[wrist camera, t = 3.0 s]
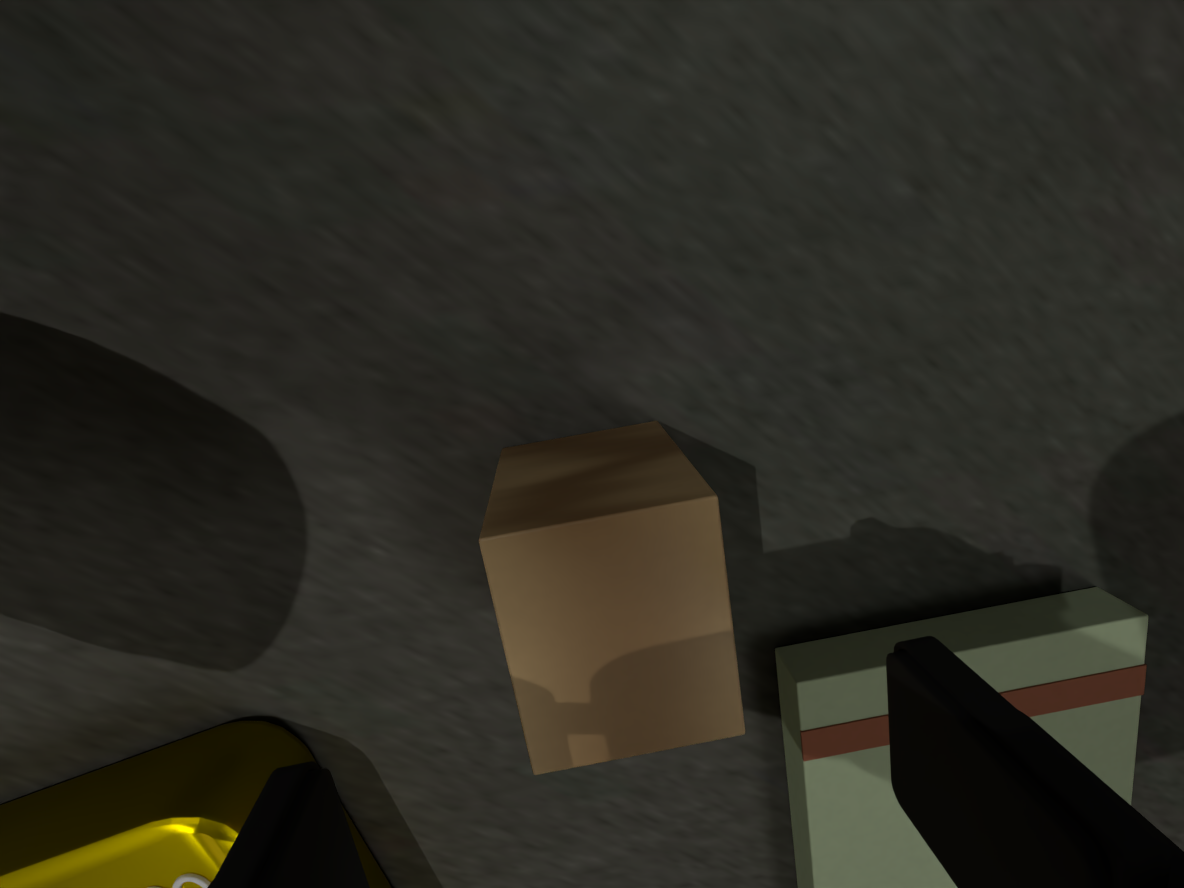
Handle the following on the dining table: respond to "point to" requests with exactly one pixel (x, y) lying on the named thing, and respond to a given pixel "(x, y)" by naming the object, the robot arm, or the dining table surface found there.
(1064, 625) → the towel
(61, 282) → the dining table surface
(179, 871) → the element tile
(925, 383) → the dining table surface
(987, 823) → the robot arm
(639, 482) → the block
